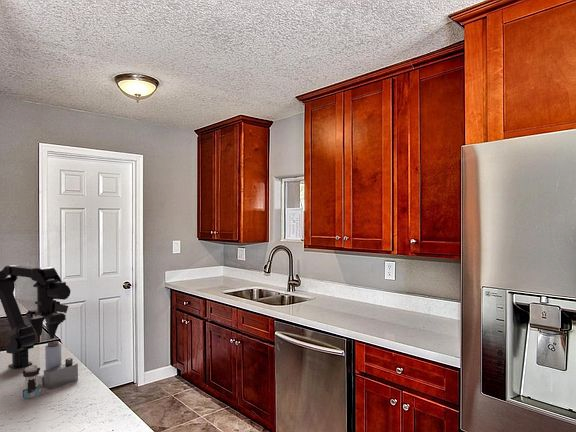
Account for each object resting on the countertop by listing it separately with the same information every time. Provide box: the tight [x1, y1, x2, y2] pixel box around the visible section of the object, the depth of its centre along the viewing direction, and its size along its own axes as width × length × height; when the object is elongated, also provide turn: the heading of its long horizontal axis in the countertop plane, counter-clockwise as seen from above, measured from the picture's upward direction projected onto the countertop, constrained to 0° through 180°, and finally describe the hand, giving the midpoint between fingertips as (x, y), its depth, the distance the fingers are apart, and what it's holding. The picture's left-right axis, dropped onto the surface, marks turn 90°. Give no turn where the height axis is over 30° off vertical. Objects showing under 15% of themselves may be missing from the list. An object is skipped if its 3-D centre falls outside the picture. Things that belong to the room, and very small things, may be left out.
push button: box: [21, 364, 45, 400], centre depth 144 cm, size 7×5×10 cm
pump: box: [44, 340, 62, 370], centre depth 158 cm, size 5×5×14 cm
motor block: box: [37, 357, 79, 390], centre depth 156 cm, size 9×10×8 cm
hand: (45, 337), depth 170 cm, fingers open, 9 cm apart
